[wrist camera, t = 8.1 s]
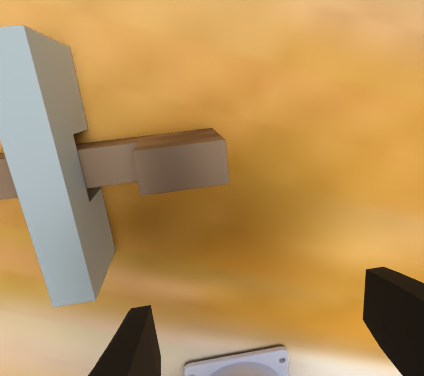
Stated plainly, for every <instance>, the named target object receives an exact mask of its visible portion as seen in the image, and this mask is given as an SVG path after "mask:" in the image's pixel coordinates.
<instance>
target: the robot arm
mask: <svg viewBox="0 0 424 376" xmlns="http://www.w3.org/2000/svg"><path fill="white" fill-rule="evenodd" d="M363 320H364V322H365V324H366V325H367V327H368V329H369V330H370V332H371V334H372V335H373V337H374V338H375V340H376V341H377V343H378V344H379V346H380V347H381V349H382V350H383V351H384V353H385V354H386V355H387V357H388V358H389V359H390V360H391V362H392V363H393V364H394V365H395V367H396V368H397V369H398V370H399V372H400V373H401V374H402V375H403V376H424V283H422V282H420V281H417V280H415V279H413V278H410V277H408V276H406V275H403V274H401V273H398V272H396V271H393V270H391V269H388V268H385V267H379V268H372V269H366V277H365V294H364V310H363ZM280 358H281V359H280ZM88 376H161V355H160V350H159V345H158V340H157V335H156V330H155V325H154V320H153V315H152V310H151V305H149V306H143V307H137V308H131V309H130V311H129V312H128V313H127V315H126V317H125V319H124V320H123V322H122V324H121V325H120V327H119V329H118V330H117V332H116V334H115V335H114V337H113V339H112V340H111V342H110V343H109V345H108V347H107V348H106V350H105V351H104V353H103V354H102V356H101V357H100V359H99V360H98V362H97V363H96V365H95V367H94V368H93V369H92V371H91V372H90V374H89V375H88ZM184 376H289V363H288V351H287V349H286V348H285V347H283V346H282V347H275V348H269V349H264V350H258V351H253V352H248V353H242V354H237V355H231V356H226V357H220V358H215V359H209V360H204V361H198V362H193V363H189V364H187V365H185V367H184Z"/></svg>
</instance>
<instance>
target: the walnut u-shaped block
mask: <svg viewBox="0 0 424 376" xmlns="http://www.w3.org/2000/svg"><path fill="white" fill-rule="evenodd" d="M76 148H77V152H78V157H79V161H80V165H81V169H82V173H83V177H84V182H85V186H86V188H94V187H101V186H109V185H116V184H124V183H132V182H138V185H139V190H140V195H141V196H142V195H150V194H157V193H165V192H172V191H179V190H187V189H194V188H202V187H209V186H216V185H224V184H229V173H228V162H227V151H226V140H225V139H224V138H223V137H222V136H220V135H219V134H218V133H217V132H216V131H215V130H213V129H212V128H209V129H201V130H193V131H184V132H176V133H168V134H159V135H151V136H142V137H134V138H126V139H117V140H109V141H100V142H92V143H84V144H76ZM10 198H18V195H17V192H16V188H15V185H14V182H13V179H12V176H11V173H10V170H9V166H8V163H7V160H6V157H5V154H4V153H0V200H2V199H10Z"/></svg>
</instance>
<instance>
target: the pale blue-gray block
mask: <svg viewBox="0 0 424 376" xmlns="http://www.w3.org/2000/svg"><path fill="white" fill-rule="evenodd" d="M87 129H88V126H87V122H86V117H85V113H84V108H83V104H82V99H81V95H80V90H79V86H78V81H77V77H76V73H75V68H74V64H73V59H72V55H71V50H70V47H69V46H66V45H64V44H62V43H60V42H58V41H56V40H54V39H52V38H49V37H47V36H45V35H43V34H41V33H39V32H37V31H35V30H32V29H30V28H28V27H26V26H24V25H21V26H9V27H0V141H1V144H2V147H3V151H4V154H5V157H6V160H7V163H8V166H9V170H10V173H11V176H12V179H13V182H14V185H15V188H16V192H17V195H18V198H19V201H20V204H21V207H22V211H23V214H24V217H25V220H26V223H27V226H28V230H29V233H30V236H31V239H32V242H33V245H34V249H35V252H36V255H37V258H38V261H39V264H40V268H41V271H42V274H43V277H44V280H45V283H46V286H47V290H48V293H49V296H50V299H51V302H52V305H53V307H58V306H64V305H71V304H77V303H83V302H90V301H96V298H97V296H98V293H99V291H100V288H101V285H102V283H103V280H104V278H105V275H106V273H107V270H108V268H109V265H110V262H111V260H112V257H113V255H114V252H115V247H114V242H113V238H112V233H111V229H110V224H109V220H108V215H107V211H106V206H105V202H104V198H103V193H102V189H101V188H95V189H87V190H86V186H85V182H84V177H83V173H82V169H81V165H80V161H79V157H78V152H77V148H76V144H75V140H74V136H73V134H76V133H79V132H81V131H84V130H87Z"/></svg>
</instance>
